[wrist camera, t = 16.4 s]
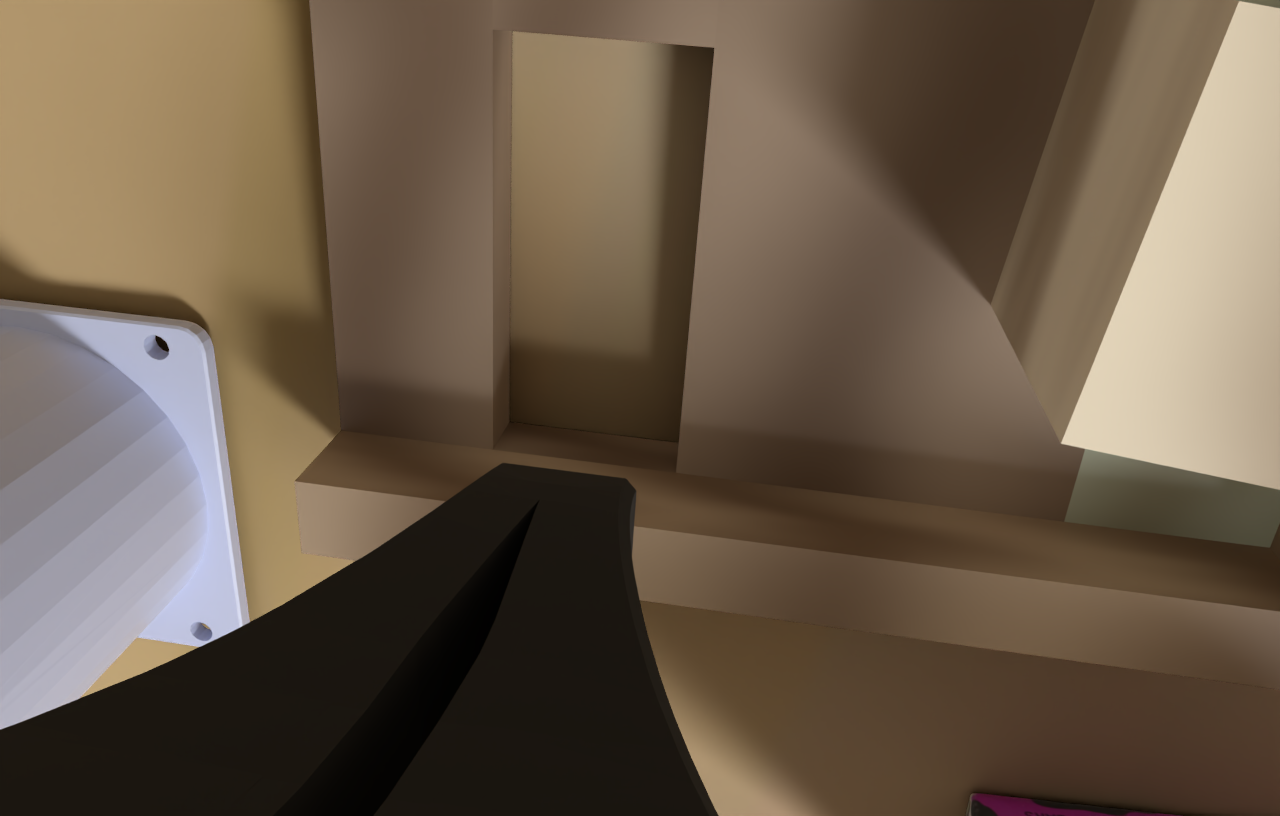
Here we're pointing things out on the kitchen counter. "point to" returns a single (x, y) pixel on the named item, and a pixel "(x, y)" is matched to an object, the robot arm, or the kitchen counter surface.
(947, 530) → the board
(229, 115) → the kitchen counter surface
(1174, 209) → the block
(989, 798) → the candy bar box
